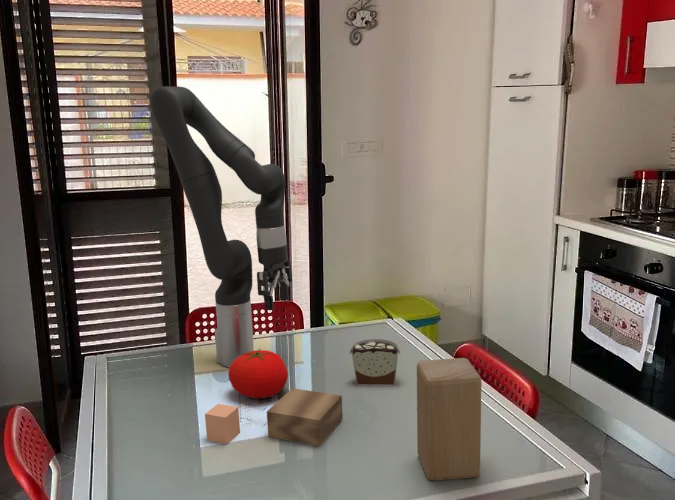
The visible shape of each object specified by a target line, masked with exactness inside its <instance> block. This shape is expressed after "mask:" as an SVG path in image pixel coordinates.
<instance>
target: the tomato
mask: <svg viewBox="0 0 675 500" xmlns="http://www.w3.org/2000/svg"><path fill="white" fill-rule="evenodd" d="M227 374H228V380H229V383H230V385H231V387H232V388H233V389H234V390H235V391H236V392H237V393H239V394H241V395H243V396H244V397H248V398H251V399H258V400H259V399H266V398H270V397H273V396H275V395H277V394H279V393H280V392H281V391H282V390H283V389H284V388H285V386H286V384H287V380H288V377H289V374H288V370H287V366H286V363H285V362H284V360H283V358H282V357H281V356H280V355H279V354H277V353H275V352H273V351H271V350H264V349H261V348H259V349H258V350H254V351H251V352H248V353H243V355H241V356H239V357H237V358H236V359H235V360H234V361H233V362H232V364H231V365H230V367H228V373H227Z"/></svg>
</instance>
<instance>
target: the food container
mask: <svg viewBox="0 0 675 500" xmlns="http://www.w3.org/2000/svg"><path fill="white" fill-rule="evenodd" d="M400 352H401V351H400V348H399V346H398V344H397V343H396V342H394V341H392V340H389V339H382V338H368V339H362V340H359V341H356V342H354V343H353V344H351V348H350V350H349V355H351V356H352V363H353V364H352V365H353V369H354V376H355V383H356V386H373V385H374V386H376V387H377V386H378V387H379V386H380V387H381V386H384V387H385V386H386V387H387V386H389V387H390V386H392V387H395V386H396V378H397V377H396V376H397V367H398V365H397V364H398V356H399V355H401V353H400ZM398 354H399V355H398Z"/></svg>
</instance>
